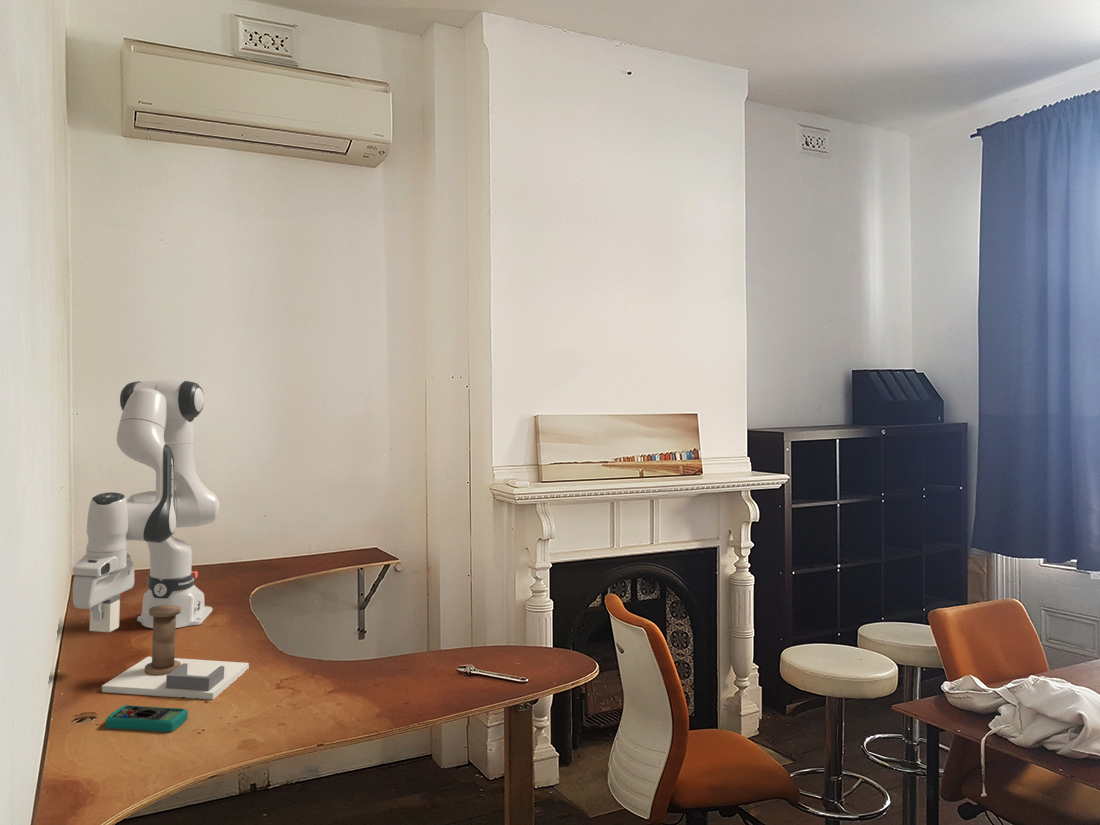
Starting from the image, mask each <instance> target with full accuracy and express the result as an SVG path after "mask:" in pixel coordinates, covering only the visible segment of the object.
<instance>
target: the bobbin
mask: <svg viewBox="0 0 1100 825" xmlns="http://www.w3.org/2000/svg"><path fill="white" fill-rule="evenodd" d="M180 612H181V607H180V606H177V605H160V606H155V607H152V608H150V609H149V615H150V616H153V628H152V645H151V646H152V647H151V650H152V651H151V657H152V662H151V663H149V664H147V665H146V666H145V673H146V674H149V675H156V676H159V675H168V674H169V673H171V672H172V671H173V670H175V669H176V668H178V667H179V666H181V663H180V662H179V661H176V660H175V658H176V657H175V654H176V653H175V651H176V629H177V628H176V615H177V614H179V613H180Z"/></svg>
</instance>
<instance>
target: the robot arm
mask: <svg viewBox="0 0 1100 825" xmlns="http://www.w3.org/2000/svg"><path fill="white" fill-rule="evenodd" d="M119 404H120V408H121V410H122V413H121V417H120V419H119V423H118V427H117V434H116V443H117V446H118V448H119V449H120V451H121V452H122V453H123V454H124V455H125V456H127V458H130V459H131V460H133V461H135V462H138V463H140V464H143V465H145V466H148V467H150V468H152V469H153V470H154V472H155V490H150V491H149V490H148V491H144V492H143V491H142V492H138V493H134V494H131V495H130V496H129V497H128V498H127V497H126V495H124V494H123V493H119V492H103V493H98V494H96V495H95V496H93V497H91V500H90V503H89V505H88V506H89V508H88V513H87V519H86V522H87V523H86V535H87V539H88V540H87V541H88V542H87V544H86V547H85V548H86V549H85V554H84V555H83V557H82V558H81V559H80V560H79V561H78V562H77V563H76V564H75V565H74V566H73V568H72V575H74V576H75V577H74V579H73V583H72V584H73V585H72V604H73V606H74V607H75V608H76V609H82V610H85V609H86V610H87V609H89V610H90V608H91V610H92V613H93V620H96V621H99V620H101V619H103V618H104V616H103V615H104V612H102V611H101V608H100V607H101V606H102V602H104V601H106V600H107V599H110V598H112V597H114V596H116V595H120V596H121V594H122V593H124V592H126V591H130V589H133V587H134V585H135V566H134V563H133V562H134V561H132V557H131V555H130V554H129V553H128V544H127V541H133V542H134V541H138V542H139V541H140V542H141V541H143V542H146V545H147V548H148V550H149V551H148V552H149V575H148V577H147V589H148V590H146V591H145V592H144V593H143V598H142V599H143V600H142V606H141V613H140V614H141V615H139V616H137V618H136V621H137V622H139V623H141V625H142V626H144V627H145V628H149V629H153V616H150V615H149V609H150V608H152V607H155V606H160V605H177V606H180V607H181V612H180V613H179V614H177V615H176V629H177V628H178V629H179V628H183V627H189V626H197V625H201V624H202V623H203V622H204V621H205V620H206V619H207V617H208V616H209V615H210V614H211V613H212V612H213V607H211V606H208V605H205V593H204V592H203V591H202V590H201V589H199V588H198V587H197V585H196V584H195V579H197V578H198V576H199V574H198V573H199V572H198V571H192V567H193V566H192V563H193V561H192V560H193V550H192V547H191V545H190V544H189V543H187V542H186V541H184V540H182V539H179V538H178V537H174V536H173V535H174V533H175V531H176V528H180V529H181V528H193V527H195V528H196V527H200V526H206V525H209V524H213V523H214V522H215V521H216V519H218V516H219V514H220V511H221V503H220V500H219V497H218V496H217V494H215V493H214V492H213V491H212V490H210V489H209V488H207V486H206V485H205V484H204V482H202V480H201V479H200V477H199V475H198V472H197V468H196V457H195V455H196V454H195V427H194V426H195V425H194V420H195V418H197V417H199V415H200V414H201V412H202V411H203V409H204V405H205V394H204V391H203V388H202V387H201V386H200V385H199V383H196V382H194V381H189V380H188V381H187V380H184V381H182V380H173V379H172V380H171V379H161V380H149V381H137V380H136V381H133V382H129V383H127V384H125V386H124V387H123V388H122V389H121V391H120V396H119Z"/></svg>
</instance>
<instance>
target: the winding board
mask: <svg viewBox="0 0 1100 825" xmlns="http://www.w3.org/2000/svg"><path fill="white" fill-rule="evenodd" d="M175 660H176V661H179V662H180V663H181V666H179V667H178V668H176V669H175V670H173V671H172V672H171V673H169V674H168V675H159V676H156V675H149V674H146V673H145V666H146V665H147V664H149V663H151V662H152V656H146V657H144V658H143V659H142V660H140V661H139V662H138V663H136V664H133V665H132V666H131V667H129V668H127V669H126V670H125V671H122V672H121V673H120V674H118V675H116V676H115V677H113V678H112V679H110V680H109V681H107V682H106V683H104V684H102V685H101V692H102V693H109V694H124V695H136V696H137V695H139V696H157V697H168V698H169V697H171V698H181V697H185V698H184V699H196V698H197V699H198V698H199V699H198V700H200V699H201V700H212V701H213V700H214V699H216V698H217V697H218V696H219V695H221V693H222V692H224V691H225V690H226V689H227V688H228V687H229V686H231V685H232V684H233V683H234V682H236V681H237V680H238V679H239V678H240V677H241V676H242V675H243V674H245V673H246V672H247V671H248V670H249V668H250V665H249V662H240V661H239V662H237V661H222V660H210V659H207V660H206V659H195V658H193V659H192V658H178V657H177V658H176V657H175ZM247 669H248V670H247ZM246 670H247V671H246ZM245 671H246V672H245ZM238 677H239V678H238ZM230 684H231V685H230ZM223 690H224V691H223Z"/></svg>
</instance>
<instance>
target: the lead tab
mask: <svg viewBox="0 0 1100 825" xmlns="http://www.w3.org/2000/svg"><path fill="white" fill-rule="evenodd" d="M120 605H121V594H120V595H116V596H114V597H112V598H110V599H107V600H106V601H104V602H102V606H101V607H100V608H101V611H102V612H104V615H103V616H104V618H103V619H101V620H99V621H96V620H93V613H92V610H91V608H89V630H88V631H90V632H98V633H99V632H100V633H111V632H113V631H115V630H117V629H118V628H119V627H120V613H121V612H120V609H121V608H120V607H121V606H120Z"/></svg>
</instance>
